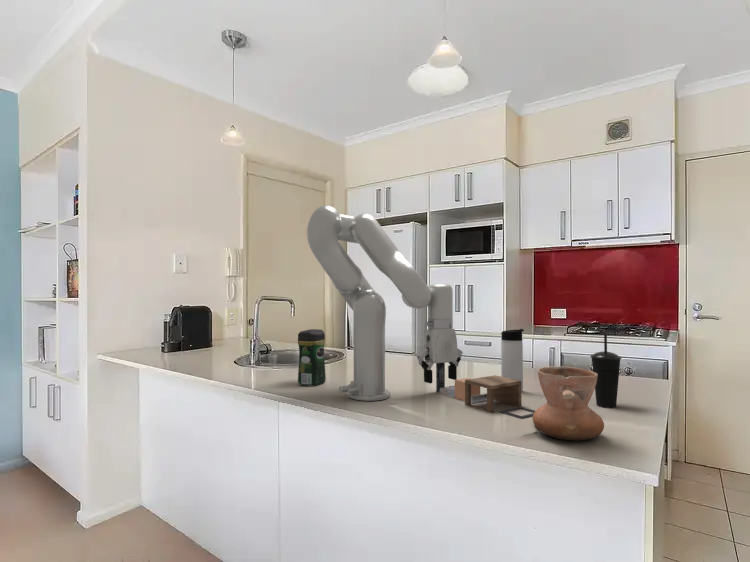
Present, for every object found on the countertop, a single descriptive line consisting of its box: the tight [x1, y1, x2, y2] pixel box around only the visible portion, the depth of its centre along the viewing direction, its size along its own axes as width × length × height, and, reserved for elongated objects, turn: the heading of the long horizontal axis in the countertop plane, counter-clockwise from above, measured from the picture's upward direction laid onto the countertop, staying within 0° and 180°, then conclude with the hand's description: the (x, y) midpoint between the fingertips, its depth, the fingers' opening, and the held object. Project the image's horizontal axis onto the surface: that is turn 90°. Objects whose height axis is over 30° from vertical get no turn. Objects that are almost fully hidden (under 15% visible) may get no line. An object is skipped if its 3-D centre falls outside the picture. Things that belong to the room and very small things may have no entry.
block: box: [454, 377, 481, 400], centre depth 127 cm, size 5×5×5 cm
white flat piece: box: [435, 363, 487, 405], centre depth 130 cm, size 7×18×10 cm, turn 33°
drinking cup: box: [590, 332, 622, 409], centre depth 124 cm, size 8×8×20 cm
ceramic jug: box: [532, 365, 605, 442], centre depth 100 cm, size 18×14×14 cm
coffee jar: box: [297, 328, 327, 387], centre depth 154 cm, size 10×8×19 cm
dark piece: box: [499, 406, 536, 420], centre depth 112 cm, size 8×7×2 cm
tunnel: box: [464, 374, 523, 414], centre depth 119 cm, size 12×9×8 cm
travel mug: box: [500, 328, 524, 393], centre depth 138 cm, size 6×7×20 cm
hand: (440, 380), depth 137 cm, fingers open, 9 cm apart
